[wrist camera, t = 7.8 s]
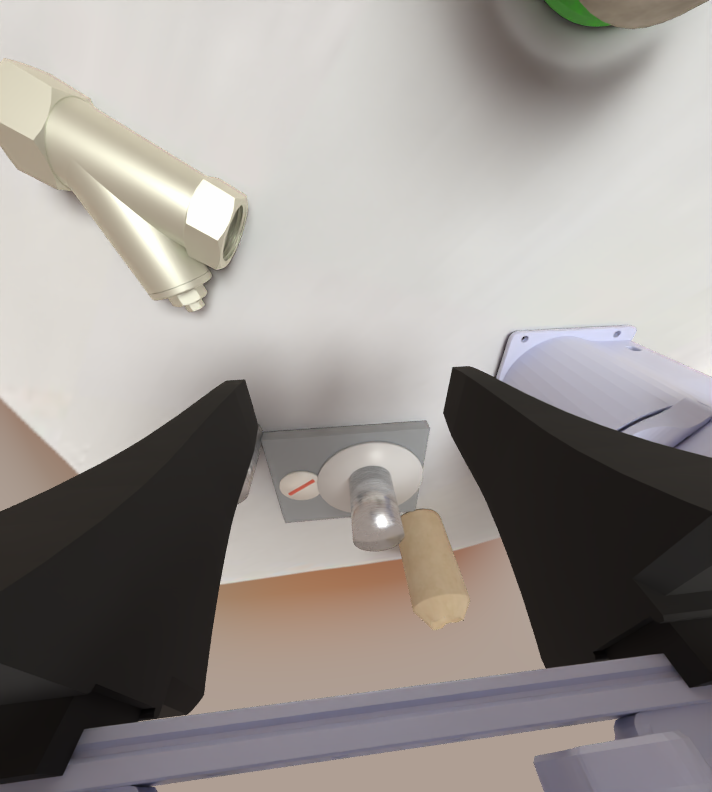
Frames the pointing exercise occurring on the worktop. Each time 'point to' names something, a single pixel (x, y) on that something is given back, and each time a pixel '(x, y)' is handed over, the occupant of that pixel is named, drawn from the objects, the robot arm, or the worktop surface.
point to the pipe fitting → (122, 184)
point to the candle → (432, 570)
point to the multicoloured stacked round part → (622, 11)
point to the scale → (342, 465)
